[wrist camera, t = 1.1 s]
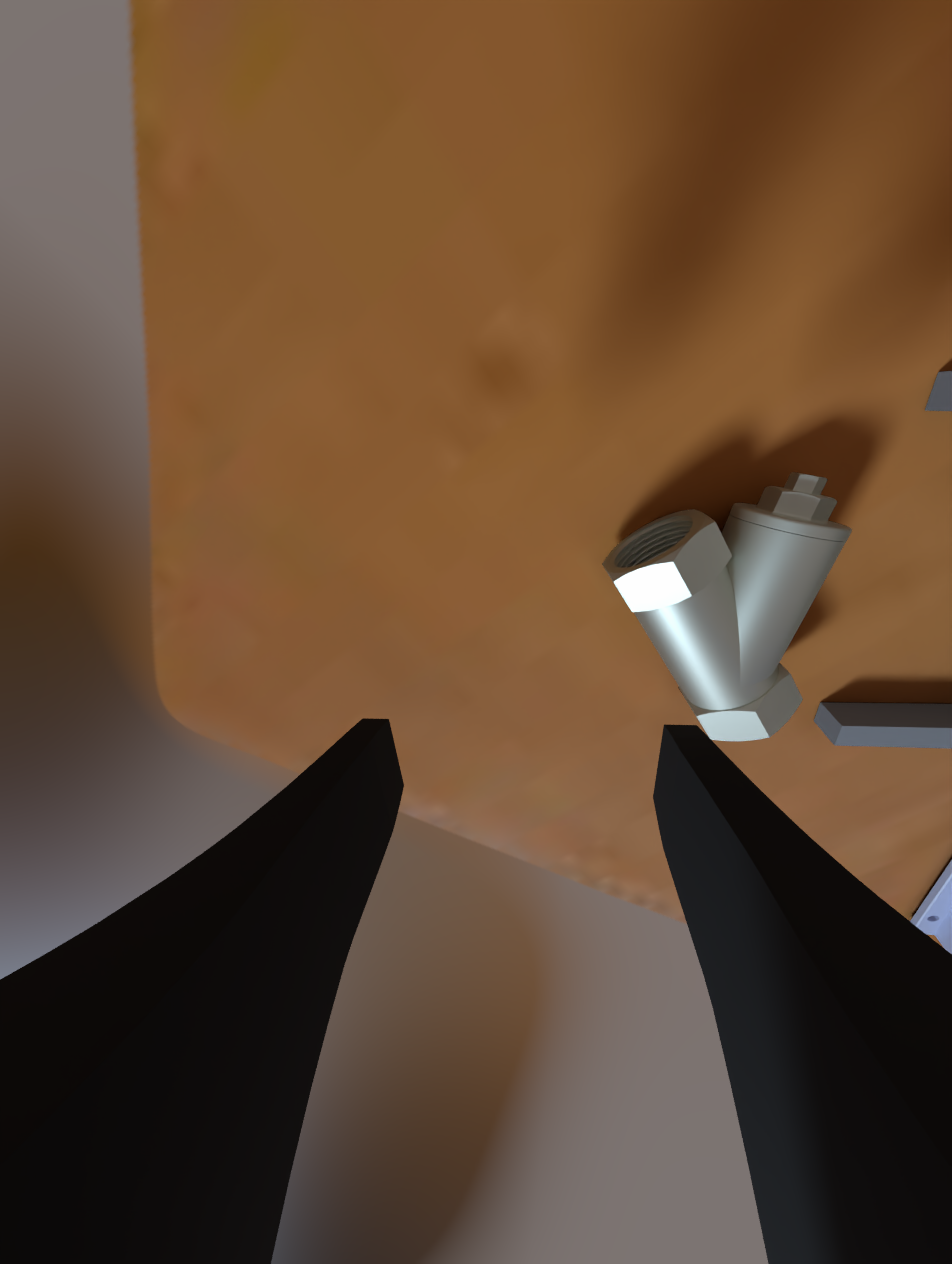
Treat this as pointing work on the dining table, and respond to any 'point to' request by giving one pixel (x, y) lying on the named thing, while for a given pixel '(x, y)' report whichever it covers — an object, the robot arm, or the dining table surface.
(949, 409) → the grey-green knobbed block
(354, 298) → the dining table surface
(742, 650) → the pipe fitting
